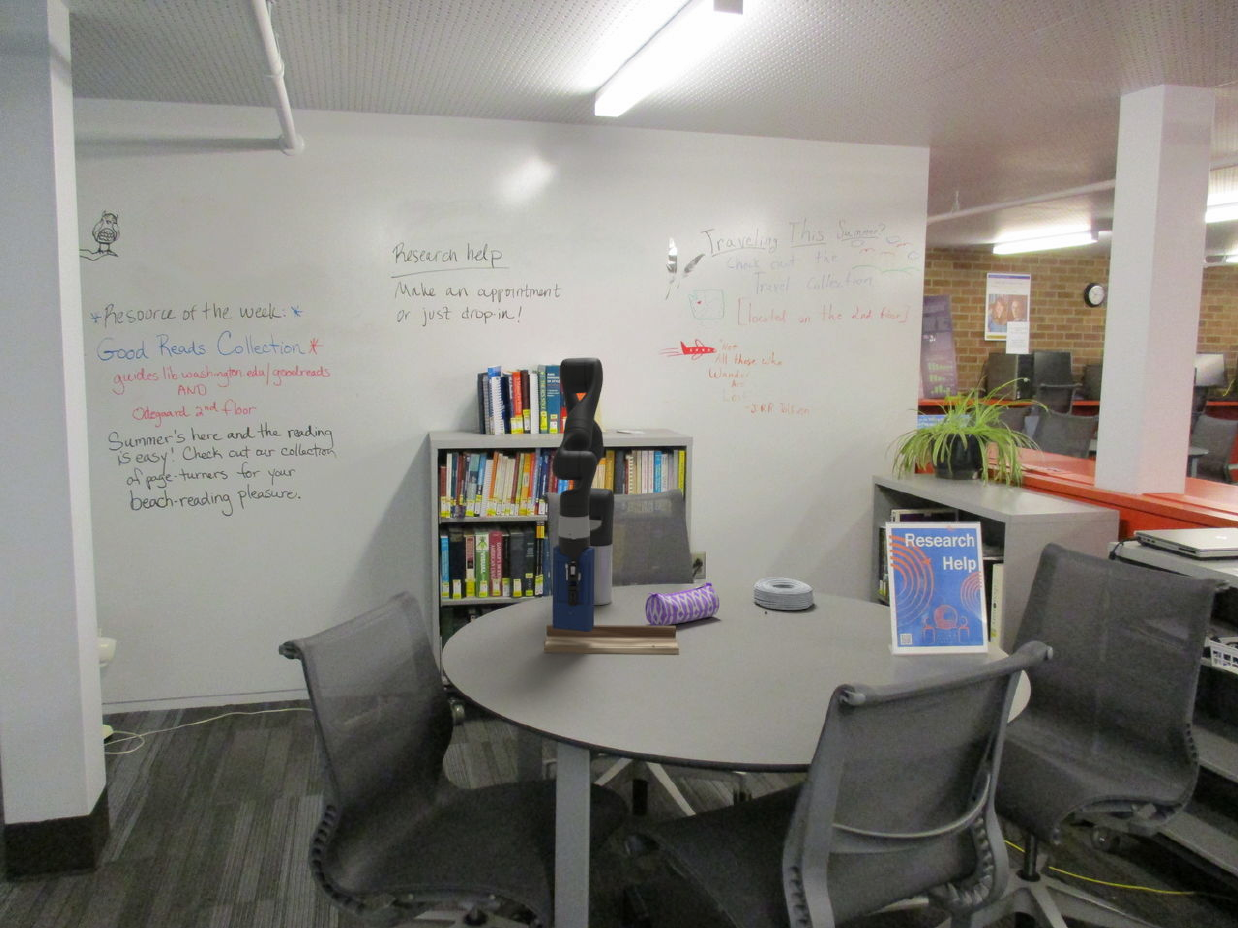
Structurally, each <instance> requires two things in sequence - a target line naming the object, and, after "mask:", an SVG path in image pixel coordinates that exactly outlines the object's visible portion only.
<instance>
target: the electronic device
mask: <svg viewBox="0 0 1238 928" xmlns="http://www.w3.org/2000/svg"><path fill="white" fill-rule="evenodd" d="M594 559H595V548H593V547H590V548H589V549H587V550H585V551H583V552H582V555H579V556H578V568H579V570H578V573H580V574H581V579H580V581H579V582H578V587H579V589H578V605H577V606H569V605H568V594H569V591H568V589H567V586H568V581H567V580H566V568H565V564H567V565H568V566H569V556H568V555H562V554H560V551H559V548H558V544H557V545H555V546H554V547H553V548H552V625H553V628H555V629H565V630H574V631H584V632H590V631H591V630H592V629H593V628H594V625H595V623H594V622H595V614H594V613H595V605H594ZM570 585H576V581H571V582H570Z"/></svg>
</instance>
